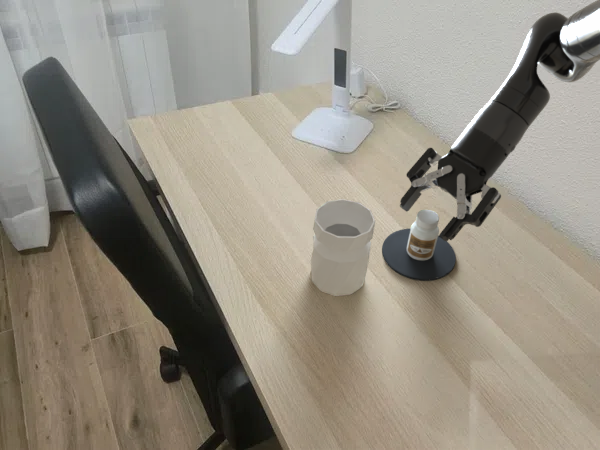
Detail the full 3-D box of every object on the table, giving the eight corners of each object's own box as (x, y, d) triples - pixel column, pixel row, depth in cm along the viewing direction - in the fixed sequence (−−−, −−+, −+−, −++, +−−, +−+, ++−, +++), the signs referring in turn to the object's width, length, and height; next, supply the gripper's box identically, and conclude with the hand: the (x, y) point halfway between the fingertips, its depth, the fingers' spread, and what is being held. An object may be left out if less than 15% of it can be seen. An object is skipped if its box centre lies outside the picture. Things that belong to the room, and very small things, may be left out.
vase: (299, 269, 87) (301, 211, 79) (343, 249, 91) (350, 192, 83) (331, 305, 82) (337, 246, 74) (377, 282, 86) (387, 224, 78)
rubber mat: (443, 228, 96) (443, 226, 95) (465, 278, 87) (465, 277, 86) (375, 231, 95) (375, 229, 94) (390, 282, 86) (391, 281, 85)
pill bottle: (404, 258, 89) (412, 222, 84) (407, 241, 92) (415, 205, 87) (432, 264, 88) (441, 227, 83) (433, 245, 92) (443, 210, 87)
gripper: (445, 108, 85) (380, 192, 87) (522, 151, 76) (448, 243, 78) (461, 128, 91) (400, 207, 93) (534, 170, 82) (464, 255, 84)
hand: (422, 223), depth 86 cm, fingers open, 8 cm apart
